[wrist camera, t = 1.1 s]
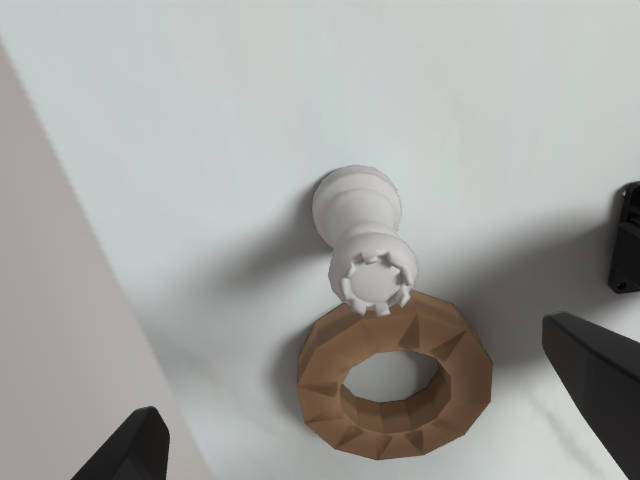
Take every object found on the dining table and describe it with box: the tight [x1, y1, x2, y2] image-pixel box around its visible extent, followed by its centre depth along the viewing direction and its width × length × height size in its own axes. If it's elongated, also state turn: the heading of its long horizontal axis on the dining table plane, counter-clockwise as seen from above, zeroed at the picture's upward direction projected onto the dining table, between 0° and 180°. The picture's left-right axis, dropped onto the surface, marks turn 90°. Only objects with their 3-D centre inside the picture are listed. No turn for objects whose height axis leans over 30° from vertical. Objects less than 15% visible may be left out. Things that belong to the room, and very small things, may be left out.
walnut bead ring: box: [297, 290, 493, 460], centre depth 25 cm, size 11×11×2 cm
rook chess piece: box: [312, 165, 419, 318], centre depth 18 cm, size 4×4×8 cm
